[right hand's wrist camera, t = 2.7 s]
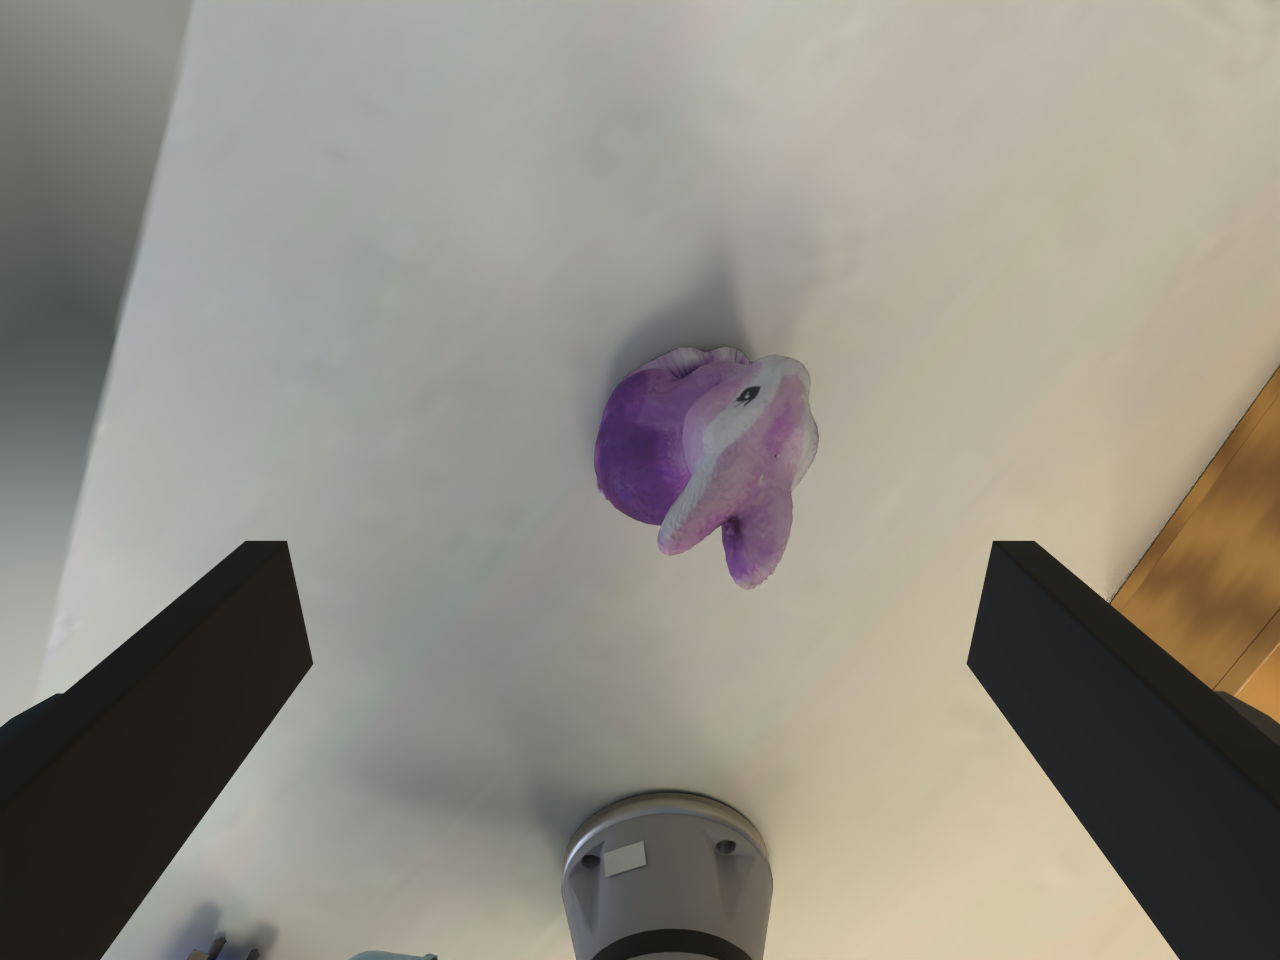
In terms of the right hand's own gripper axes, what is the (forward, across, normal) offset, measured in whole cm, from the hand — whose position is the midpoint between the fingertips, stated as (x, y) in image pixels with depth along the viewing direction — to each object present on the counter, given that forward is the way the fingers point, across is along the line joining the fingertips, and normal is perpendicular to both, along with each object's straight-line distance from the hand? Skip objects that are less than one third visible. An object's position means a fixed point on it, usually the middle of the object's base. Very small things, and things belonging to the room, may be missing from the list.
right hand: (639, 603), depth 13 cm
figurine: (+25, -2, +3) cm, 26 cm away
